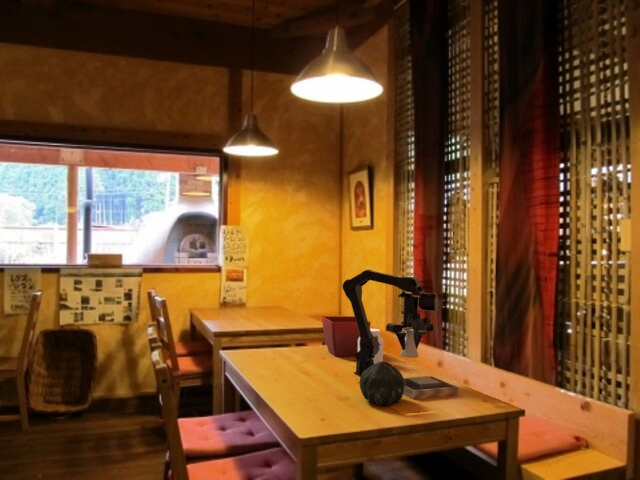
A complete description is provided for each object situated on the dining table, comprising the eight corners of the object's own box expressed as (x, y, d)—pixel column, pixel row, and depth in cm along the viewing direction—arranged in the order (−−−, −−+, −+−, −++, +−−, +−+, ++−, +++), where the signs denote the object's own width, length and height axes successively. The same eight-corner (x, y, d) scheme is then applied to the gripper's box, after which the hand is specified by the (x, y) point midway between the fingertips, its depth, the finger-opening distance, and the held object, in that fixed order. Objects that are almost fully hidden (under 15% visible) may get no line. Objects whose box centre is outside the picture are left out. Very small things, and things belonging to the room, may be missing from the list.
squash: (379, 377, 190) (366, 349, 183) (417, 386, 181) (404, 357, 173) (361, 409, 182) (345, 382, 174) (399, 421, 173) (384, 393, 165)
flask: (420, 355, 210) (420, 330, 210) (417, 359, 203) (418, 332, 203) (401, 354, 212) (402, 328, 212) (398, 357, 205) (399, 331, 205)
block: (419, 395, 185) (419, 384, 185) (405, 388, 194) (405, 377, 194) (440, 393, 189) (441, 382, 189) (426, 387, 197) (426, 376, 197)
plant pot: (370, 357, 250) (371, 321, 250) (331, 358, 245) (332, 322, 245) (356, 349, 268) (357, 316, 269) (320, 350, 263) (321, 316, 264)
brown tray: (413, 401, 180) (413, 390, 180) (389, 389, 195) (390, 379, 195) (457, 397, 187) (457, 387, 187) (431, 385, 202) (431, 376, 202)
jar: (385, 365, 233) (386, 331, 234) (365, 367, 230) (366, 332, 230) (373, 360, 244) (374, 327, 244) (354, 361, 241) (355, 328, 241)
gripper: (400, 312, 197) (399, 354, 197) (443, 311, 204) (441, 352, 204) (385, 308, 207) (384, 349, 207) (426, 308, 214) (425, 347, 214)
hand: (409, 349), depth 208 cm, fingers closed on flask, 5 cm apart
